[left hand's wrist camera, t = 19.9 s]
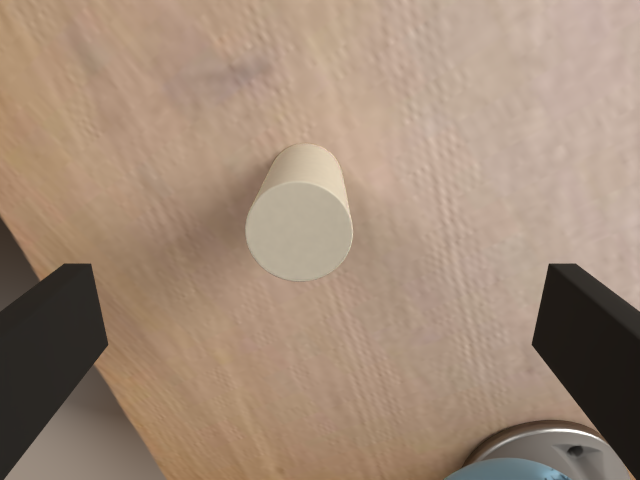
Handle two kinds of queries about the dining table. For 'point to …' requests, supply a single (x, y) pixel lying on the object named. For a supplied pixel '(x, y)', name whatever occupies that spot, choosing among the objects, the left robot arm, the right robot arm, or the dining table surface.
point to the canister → (300, 216)
